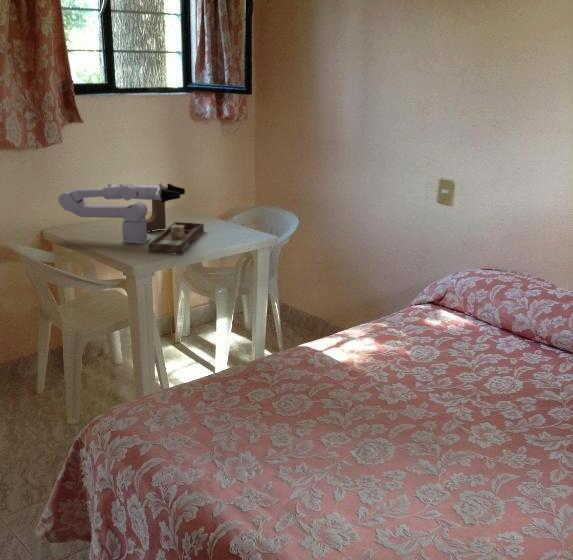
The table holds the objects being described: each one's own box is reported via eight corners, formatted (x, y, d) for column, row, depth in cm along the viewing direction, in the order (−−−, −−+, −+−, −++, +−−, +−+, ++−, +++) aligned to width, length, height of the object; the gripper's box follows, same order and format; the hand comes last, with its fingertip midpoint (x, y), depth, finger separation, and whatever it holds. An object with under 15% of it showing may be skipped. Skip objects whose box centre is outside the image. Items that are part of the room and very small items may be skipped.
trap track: (149, 252, 262) (148, 243, 260) (175, 229, 296) (175, 221, 295) (180, 254, 260) (180, 245, 259) (203, 231, 295) (203, 223, 294)
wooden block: (147, 232, 290) (145, 192, 284) (143, 230, 293) (141, 190, 287) (166, 230, 295) (164, 190, 289) (161, 228, 298) (160, 188, 292)
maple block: (171, 237, 276) (170, 227, 274) (174, 234, 280) (173, 224, 278) (181, 238, 275) (181, 227, 274) (184, 235, 279) (184, 225, 278)
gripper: (143, 186, 261) (177, 187, 260) (154, 179, 274) (186, 180, 273) (144, 204, 263) (178, 204, 262) (155, 195, 277) (187, 196, 275)
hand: (182, 193), depth 268 cm, fingers open, 7 cm apart
